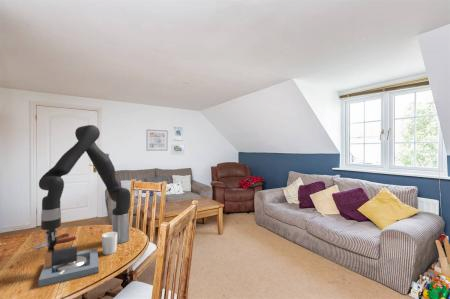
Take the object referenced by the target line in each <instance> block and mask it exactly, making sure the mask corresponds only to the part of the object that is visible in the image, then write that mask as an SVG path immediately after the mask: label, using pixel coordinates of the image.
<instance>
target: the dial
mask: <svg viewBox="0 0 450 299" xmlns="http://www.w3.org/2000/svg"><path fill="white" fill-rule="evenodd" d="M77 252H78V246H77V245H74V246H69V247H64V248H59V249H54V250H50V251H48V250H47V251H46V250H45V252H44V264H45V268H48V267H52V266H57V272H61V271H62V270H70V269H75V268H79V267H84V266H86V257H83V256H77Z"/></svg>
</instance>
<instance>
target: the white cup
mask: <svg viewBox="0 0 450 299" xmlns="http://www.w3.org/2000/svg"><path fill="white" fill-rule="evenodd" d="M117 235H118V233H117V232H112V231H108V232H104V233H103V234H102V235H101V244H102V246H101V247H102V254H103V255H106V256H108V255H113V254H115V253H116V252H117V247H118V243H117Z"/></svg>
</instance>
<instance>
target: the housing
mask: <svg viewBox="0 0 450 299" xmlns="http://www.w3.org/2000/svg"><path fill="white" fill-rule="evenodd" d="M98 253H99V252H98V248H93V249H87V250H81V251H77V256H83V257H86V266H84V267H79V268H75V269H70V270H62V271H61V272H57V266H52V267H48V268H45V263H44V265H43V267H42V270H41V273H40V275H39V278H38V283H37V284H38V285H37V286H38V288H42V287H46V286H50V285H54V284H55V285H56V284H59V283H62V282H67V281H70V280H74V279H79V278H80V279H81V278H82V277H83V278H84V277H87V276H88V277H89V276H92V275H95V274H99V272H100V270H99V268H100V267H99V254H98Z"/></svg>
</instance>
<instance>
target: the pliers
mask: <svg viewBox="0 0 450 299" xmlns="http://www.w3.org/2000/svg"><path fill="white" fill-rule="evenodd" d="M56 237H57V240H56V245H58V244H59V245H60V244H65V243H69V242H73V241H76V239H77V236H71V237H69V233H63V234H61V235H58V236H56ZM45 247H48V246H47V241H45V242H43V243H40V244H37V245H36V246H33V247H32V248H33V249H34V250H36V249H41V248H42V249H43V248H45Z"/></svg>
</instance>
